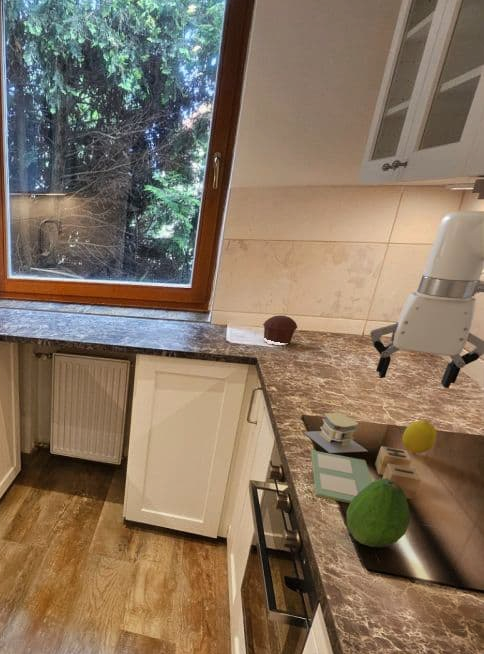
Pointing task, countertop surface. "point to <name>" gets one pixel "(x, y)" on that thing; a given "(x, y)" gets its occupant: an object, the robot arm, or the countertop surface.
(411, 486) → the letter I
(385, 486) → the avocado
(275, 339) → the muffin
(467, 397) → the countertop surface
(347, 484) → the word mat
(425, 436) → the lemon
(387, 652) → the countertop surface
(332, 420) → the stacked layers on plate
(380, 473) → the light brown block
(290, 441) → the countertop surface
